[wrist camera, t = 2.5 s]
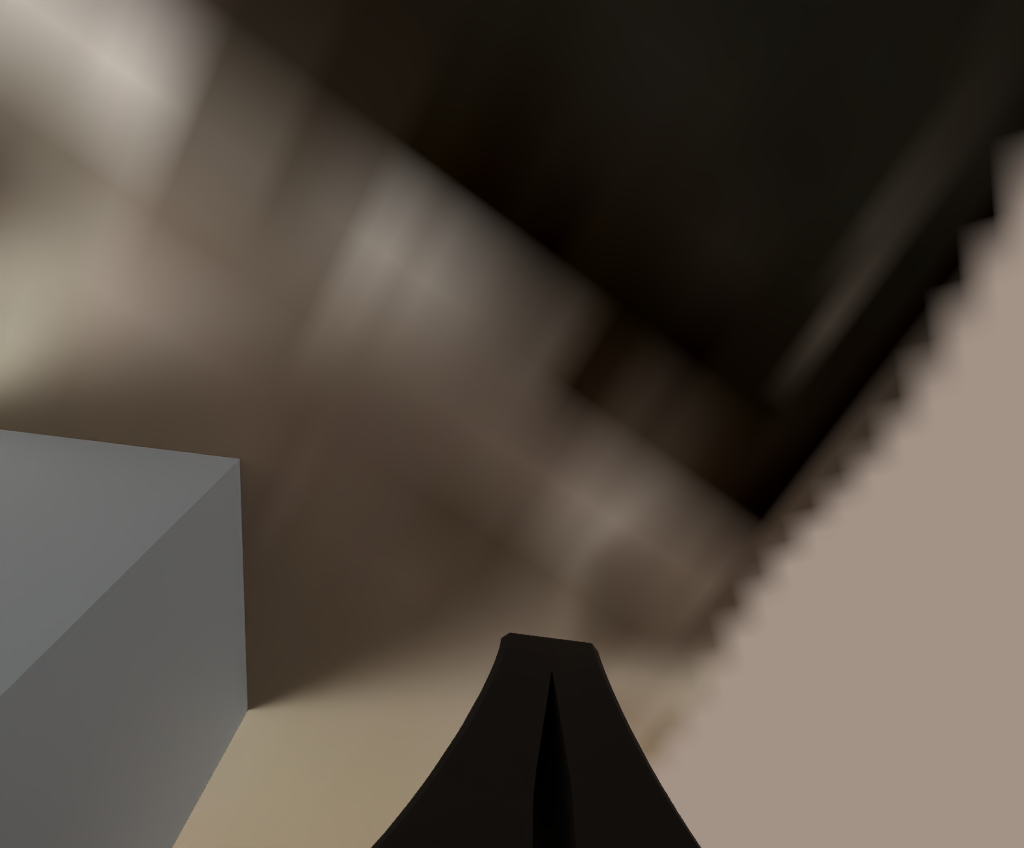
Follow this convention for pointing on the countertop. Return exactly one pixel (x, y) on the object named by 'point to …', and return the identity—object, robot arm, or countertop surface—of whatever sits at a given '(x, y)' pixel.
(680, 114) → the countertop surface
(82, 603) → the block
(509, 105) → the countertop surface
